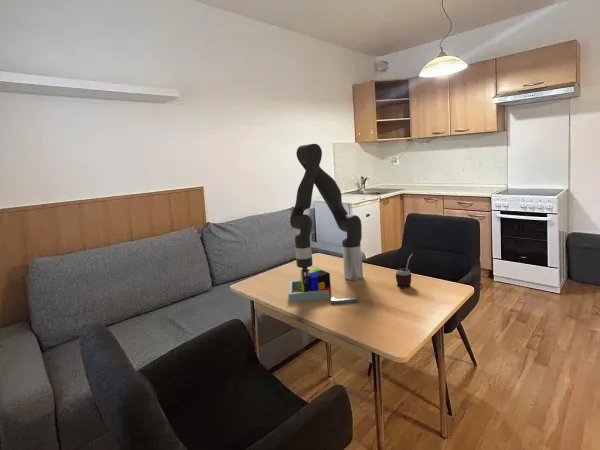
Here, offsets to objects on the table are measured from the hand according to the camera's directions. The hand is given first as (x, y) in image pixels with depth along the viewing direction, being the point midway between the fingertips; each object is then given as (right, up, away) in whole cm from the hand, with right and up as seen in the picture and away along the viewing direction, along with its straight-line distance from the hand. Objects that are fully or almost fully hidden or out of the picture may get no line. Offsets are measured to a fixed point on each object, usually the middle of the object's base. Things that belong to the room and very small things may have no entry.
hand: (306, 288), depth 181 cm
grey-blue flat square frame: (+1, -2, 0) cm, 3 cm away
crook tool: (+17, -4, -12) cm, 21 cm away
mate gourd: (+46, +1, -1) cm, 46 cm away
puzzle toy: (+5, -2, 0) cm, 5 cm away
